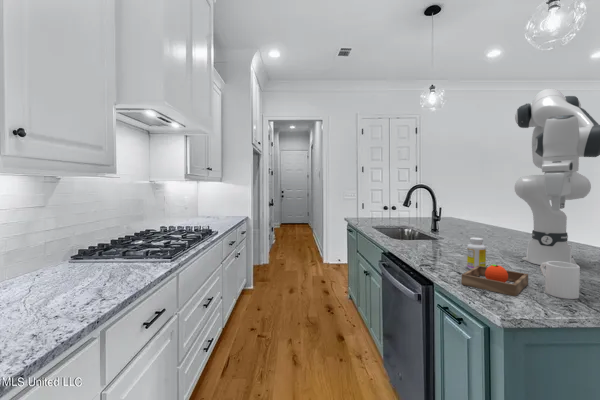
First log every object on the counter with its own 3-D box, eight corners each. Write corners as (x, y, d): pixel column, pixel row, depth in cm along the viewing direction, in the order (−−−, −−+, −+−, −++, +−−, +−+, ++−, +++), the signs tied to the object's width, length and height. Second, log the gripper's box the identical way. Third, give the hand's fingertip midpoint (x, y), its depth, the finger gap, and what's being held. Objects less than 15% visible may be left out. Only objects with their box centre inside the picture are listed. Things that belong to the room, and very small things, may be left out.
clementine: (477, 281, 109) (477, 262, 109) (491, 279, 111) (492, 260, 111) (497, 289, 101) (498, 268, 101) (512, 286, 103) (513, 266, 103)
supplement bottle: (485, 268, 126) (486, 237, 125) (485, 272, 120) (486, 240, 120) (467, 266, 130) (467, 236, 129) (466, 269, 124) (466, 239, 123)
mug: (551, 285, 104) (551, 257, 103) (586, 298, 92) (587, 267, 91) (528, 286, 103) (529, 258, 103) (561, 299, 91) (562, 268, 91)
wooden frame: (477, 274, 118) (478, 265, 118) (528, 283, 106) (528, 274, 106) (461, 284, 106) (461, 274, 106) (515, 296, 95) (515, 285, 94)
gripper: (552, 167, 105) (551, 207, 106) (540, 165, 91) (539, 211, 92) (577, 166, 100) (575, 207, 101) (568, 164, 86) (566, 212, 87)
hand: (558, 209), depth 96 cm, fingers open, 8 cm apart
